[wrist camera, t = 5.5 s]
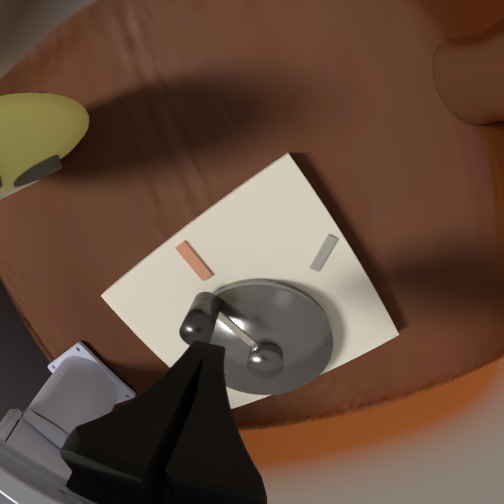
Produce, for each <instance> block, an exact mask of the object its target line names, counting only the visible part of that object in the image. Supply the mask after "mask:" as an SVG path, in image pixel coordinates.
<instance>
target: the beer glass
mask: <svg viewBox="0 0 504 504" xmlns="http://www.w3.org/2000/svg"><path fill="white" fill-rule="evenodd" d="M433 76H434V81H435V84H436V87H437V90H438V92H439V94H440V96H441V98H442V100H443V101H444V103H445V104H446V106H447V107H448V108H449V109H450V110H451V111H452V112H453V113H454V114H455V115H456V116H457V117H459V118H460V119H462V120H464V121H466V122H468V123H471V124H477V125H481V124H488V123H492V122H496V121H504V18H503V19H501V20H500V21H499V22H497V23H496V24H495V25H493V26H492V27H491V28H489V29H488V30H486V31H485V32H483V33H481V34H479V35H475V36H470V37H454V38H450V39H447V40H445V41H444V42H442V43H441V44H440V45H439V47H438V48H437V50H436V52H435V54H434V58H433Z"/></svg>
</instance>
